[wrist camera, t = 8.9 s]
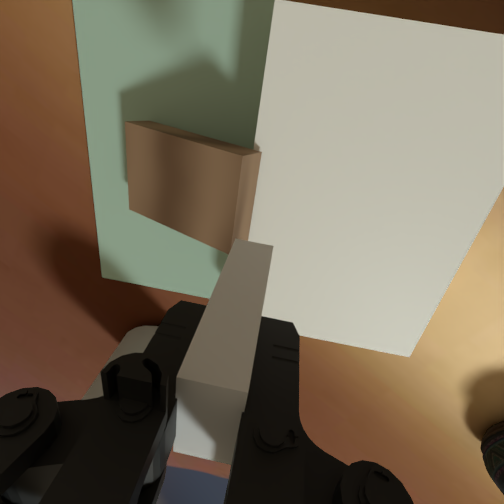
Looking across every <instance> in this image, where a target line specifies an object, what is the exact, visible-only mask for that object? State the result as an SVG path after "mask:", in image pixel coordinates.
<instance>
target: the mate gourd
mask: <svg viewBox="0 0 504 504" xmlns="http://www.w3.org/2000/svg"><path fill="white" fill-rule="evenodd" d="M481 451H482V453H483V460H484V463H485V466H486V469H487V471H488V473H489V475H490V477H491V478H492V480H493V481H494V483H495V484H496V485H497V487H498V488H499V489H500V491H501V492H502V493H503V495H504V422H501V423H498V424H496V425H494V426H492V427H491V428H489V429H488V431H487V432H486V434H485V435H484V437H483V439H482V442H481Z"/></svg>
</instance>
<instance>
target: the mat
mask: <svg viewBox="0 0 504 504" xmlns="http://www.w3.org/2000/svg"><path fill="white" fill-rule="evenodd" d="M72 2H73V11H74V20H75V30H76V39H77V48H78V58H79V67H80V76H81V86H82V95H83V105H84V114H85V123H86V133H87V142H88V151H89V161H90V170H91V179H92V189H93V198H94V207H95V217H96V226H97V235H98V245H99V254H100V263H101V273H102V277H103V278H108V279H113V280H118V281H123V282H128V283H133V284H138V285H143V286H149V287H154V288H159V289H164V290H169V291H174V292H179V293H184V294H189V295H194V296H199V297H204V298H209V299H210V297H211V295H212V292H213V290H214V288H215V285H216V283H217V281H218V278H219V276H220V274H221V271H222V269H223V267H224V264H225V262H226V260H227V257H228V254H226V253H224V252H222V251H220V250H217V249H215V248H213V247H211V246H209V245H206V244H204V243H202V242H200V241H198V240H195V239H193V238H191V237H189V236H187V235H184V234H182V233H180V232H178V231H176V230H173V229H171V228H169V227H167V226H165V225H162V224H160V223H158V222H156V221H154V220H151V219H149V218H147V217H145V216H143V215H140V214H138V213H136V212H134V211H132V210H129V196H128V176H127V157H126V137H125V121H153V122H156V123H160V124H163V125H167V126H171V127H174V128H178V129H181V130H185V131H188V132H192V133H196V134H199V135H203V136H206V137H210V138H213V139H217V140H221V141H224V142H228V143H231V144H235V145H238V146H242V147H246V148H249V149H254V142H255V135H256V128H257V121H258V114H259V107H260V100H261V93H262V86H263V79H264V72H265V65H266V58H267V51H268V44H269V37H270V30H271V23H272V16H273V9H274V2H275V0H72Z"/></svg>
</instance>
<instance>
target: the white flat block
mask: <svg viewBox="0 0 504 504" xmlns="http://www.w3.org/2000/svg"><path fill="white" fill-rule="evenodd" d="M253 150H256V151H260V152H262V154H261V161H260V167H259V174H258V180H257V186H256V193H255V199H254V206H253V212H252V219H251V225H250V231H249V238H248V241H251V242H256V243H261V244H266V245H272V246H274V247H273V253H272V258H271V264H270V270H269V276H268V281H267V287H266V293H265V299H264V305H263V310H262V316H264V317H269V318H273V319H278V320H283V321H288V322H293V324H294V326H295V328H296V330H297V332H298V334H299V335H301V336H306V337H311V338H316V339H321V340H326V341H331V342H336V343H341V344H346V345H351V346H356V347H361V348H366V349H371V350H376V351H381V352H386V353H391V354H396V355H401V356H406V357H410V355H411V353H412V351H413V350H414V348H415V346H416V344H417V342H418V341H419V339H420V337H421V335H422V333H423V332H424V330H425V328H426V326H427V324H428V323H429V321H430V319H431V317H432V315H433V313H434V312H435V310H436V308H437V306H438V304H439V303H440V301H441V299H442V297H443V295H444V294H445V292H446V290H447V288H448V286H449V285H450V283H451V281H452V279H453V277H454V275H455V274H456V272H457V270H458V268H459V266H460V265H461V263H462V261H463V259H464V257H465V256H466V254H467V252H468V250H469V248H470V247H471V245H472V243H473V241H474V239H475V237H476V236H477V234H478V232H479V230H480V228H481V227H482V225H483V223H484V221H485V219H486V218H487V216H488V214H489V212H490V210H491V209H492V207H493V205H494V203H495V201H496V200H497V198H498V196H499V194H500V192H501V190H502V189H503V187H504V35H503V34H496V33H490V32H484V31H477V30H471V29H464V28H458V27H452V26H445V25H439V24H432V23H426V22H420V21H413V20H407V19H401V18H394V17H388V16H381V15H375V14H369V13H362V12H356V11H349V10H343V9H337V8H330V7H324V6H317V5H311V4H305V3H298V2H292V1H286V0H275V2H274V9H273V16H272V23H271V30H270V37H269V44H268V51H267V58H266V65H265V72H264V79H263V86H262V93H261V100H260V107H259V114H258V121H257V128H256V135H255V142H254V149H253Z"/></svg>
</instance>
